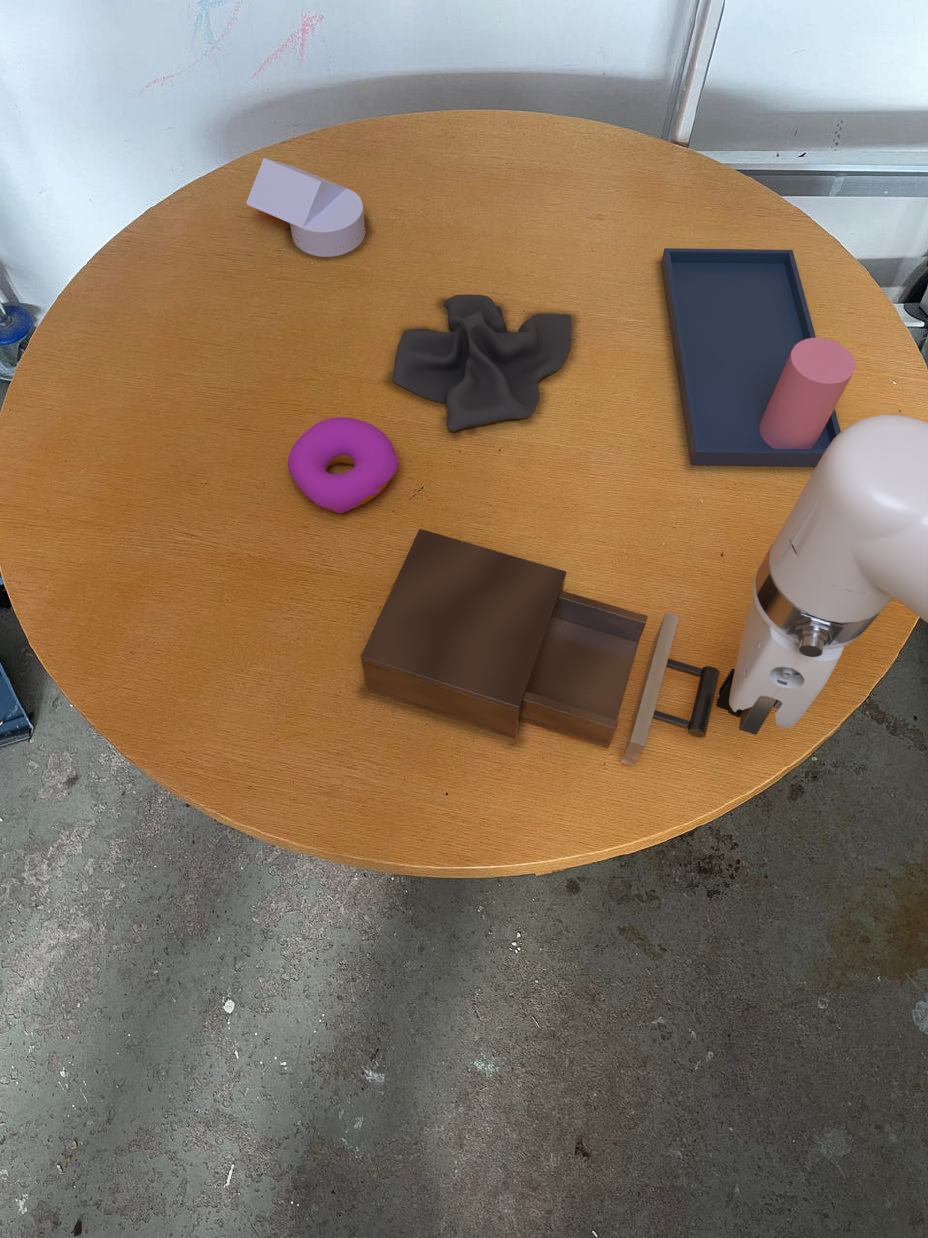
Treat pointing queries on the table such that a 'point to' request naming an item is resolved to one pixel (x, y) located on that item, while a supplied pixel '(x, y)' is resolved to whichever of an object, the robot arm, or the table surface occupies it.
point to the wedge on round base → (310, 208)
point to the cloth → (482, 361)
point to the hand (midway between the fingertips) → (736, 704)
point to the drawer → (606, 676)
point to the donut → (342, 445)
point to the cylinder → (806, 393)
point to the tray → (736, 349)
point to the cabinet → (462, 631)
